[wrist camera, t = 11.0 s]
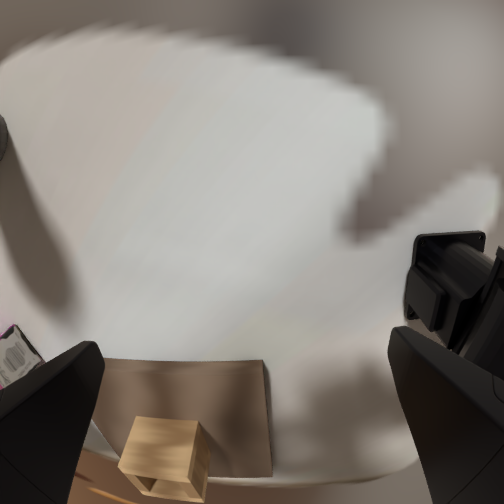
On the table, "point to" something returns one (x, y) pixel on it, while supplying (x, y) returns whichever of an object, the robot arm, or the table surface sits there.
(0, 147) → the beverage cup
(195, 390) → the pin board
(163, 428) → the oak collar
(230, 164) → the table surface
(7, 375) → the candy bar box
